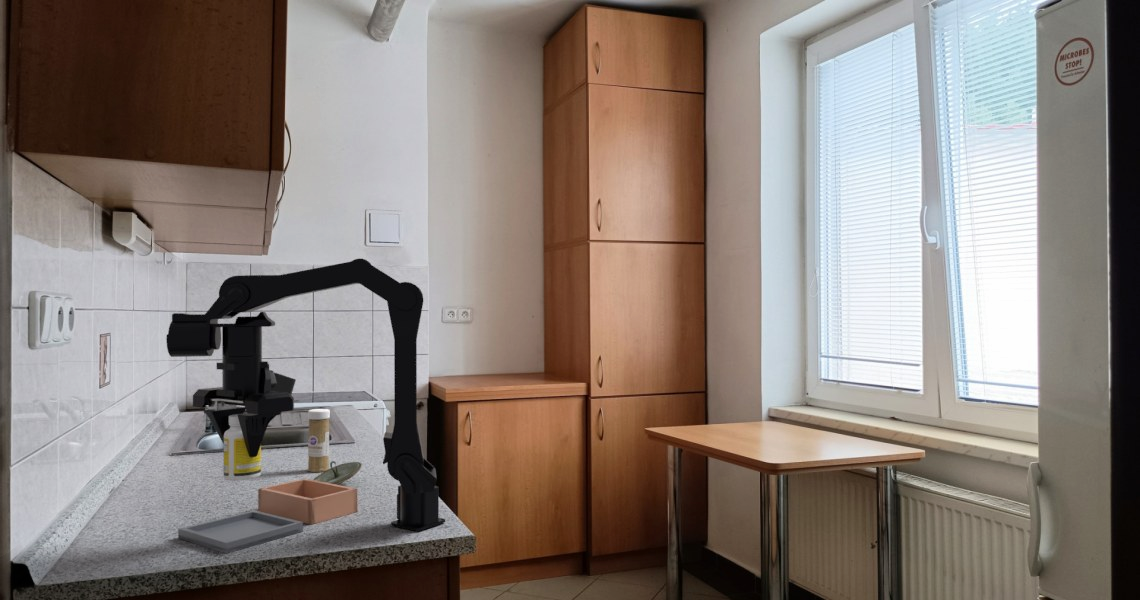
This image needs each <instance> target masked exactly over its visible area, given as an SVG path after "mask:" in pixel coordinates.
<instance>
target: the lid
mask: <svg viewBox="0 0 1140 600" xmlns="http://www.w3.org/2000/svg"><path fill="white" fill-rule="evenodd" d="M329 463H330V464H329V469H328V470H327V471H324V472H320V474H318V475H317V476H315V477H314V478H313V480H315V481H320V482H325V483H330V484H336V485H340V484H342V483H344V482H345V481H348V480H350V479H351V478H353V476H355V475H356V474H357V473H358V472H359V471H360V470H361V469H362V463H361V462H359V461H351V462H345V463H341V464H337V463H336V461H333V460H332V461H331V462H329ZM333 464H334V465H335V466H334V467H333Z"/></svg>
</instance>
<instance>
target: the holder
mask: <svg viewBox="0 0 1140 600" xmlns="http://www.w3.org/2000/svg"><path fill="white" fill-rule="evenodd" d="M257 491H258V492H257V495H258V496H257V498H258V499H257V505H258V506H257V507H258V510H257V511H260V512H264V513H268V514H272V515H276V516H280V517H284V518H288V519H292V520H296V521H300V522H303V524H307V525H315V524H318V523H322V522H325V521H330V520H333V519H337V518H339V517H343V516H347V515H350V514H354V513H357V512H358V488H357V487H356V488H355V487H351V486H350V487H349V486H345V485H340V484H338V485H336V484H330V483H325V482H320V481H315V480H314V479H309V478H301V479H298V480H297V479H296V480H292V481H288V482H283V483H279V484H274V485H270V486H266V487H265V486H264V487H260V488H258V490H257Z"/></svg>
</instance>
